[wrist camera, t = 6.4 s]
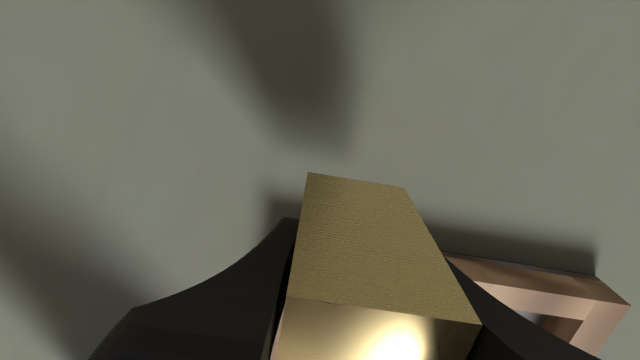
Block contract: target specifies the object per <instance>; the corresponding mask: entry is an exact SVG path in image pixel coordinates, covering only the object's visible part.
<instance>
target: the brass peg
mask: <svg viewBox="0 0 640 360" xmlns="http://www.w3.org/2000/svg"><path fill="white" fill-rule="evenodd" d="M481 327H482V323H481V321H480V320H479V318H478V316H477V314H476V313H475V311H474V309H473V307H472V306H471V304H470V302H469V300H468V299H467V297H466V295H465V293H464V292H463V290H462V288H461V286H460V285H459V283H458V281H457V279H456V278H455V276H454V274H453V272H452V271H451V269H450V267H449V265H448V264H447V262H446V260H445V258H444V257H443V255H442V253H441V251H440V250H439V248H438V246H437V244H436V243H435V241H434V239H433V237H432V236H431V234H430V232H429V231H428V229H427V227H426V225H425V224H424V222H423V220H422V218H421V217H420V215H419V213H418V211H417V210H416V208H415V206H414V204H413V203H412V201H411V199H410V197H409V196H408V194H407V192H406V190H405V189H404V188H402V187H396V186H390V185H383V184H377V183H371V182H365V181H359V180H353V179H347V178H341V177H335V176H329V175H323V174H317V173H311V172H308V174H307V180H306V186H305V191H304V197H303V203H302V209H301V214H300V220H299V226H298V231H297V237H296V243H295V249H294V254H293V260H292V266H291V272H290V277H289V283H288V289H287V294H286V300H285V307H284V313H283V319H282V325H281V332H280V338H279V344H278V350H277V357H276V360H466V358H467V356H468V354H469V352H470V350H471V348H472V346H473V344H474V342H475V340H476V338H477V336H478V333H479V331H480V329H481Z"/></svg>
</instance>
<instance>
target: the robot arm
mask: <svg viewBox="0 0 640 360" xmlns="http://www.w3.org/2000/svg"><path fill="white" fill-rule="evenodd" d="M298 226H299V220H298V219H292V218H286V217H284V218H283V219H281V220H280V222H279V223H278V224H277V226H276V227H275V228H274V229H273V230H272V231H271V232H270V233H269V234H268V235H267V236H266V237H265V238H264V239H263V240H262V241H261V242H260V243H259V244H258V245H257V246H256V247H255V248H253V249H252V250H251V251H250V252H249V253H248V254H246V255H245V256H244V257H243V258H241V259H240V260H239V261H237V262H236V263H234V264H233V265H231V266H230V267H228V268H227V269H225V270H224V271H222V272H220V273H219V274H217V275H215V276H213V277H211V278H209V279H208V280H206V281H204V282H202V283H200V284H197V285H195V286H193V287H191V288H189V289H186V290H184V291H181V292H179V293H177V294H174V295H171V296H169V297H166V298H163V299H160V300H157V301H154V302H151V303H148V304H145V305H142V306H139V307H136V308H132V309H131V310H130V311H129V312H128V313H127V314H126V316H125V317H124V318H123V319H122V320H121V321H120V322H119V323H118V324H117V325H116V326H115V327H114V328H113V329H112V330H111V331H110V332H109V334H108V335H107V336H106V337H105V339H104V340H103V341H102V342H101V344H100V345H99V346H98V347H97V349H96V350H95V351H94V352H93V354H92V355H91V356H90V358H89V359H88V360H270V358H271V353H272V349H273V345H274V341H275V337H276V334H277V330H278V327H279V323H280V320H281V316H282V313H283V309H284V306H285V300H286V294H287V289H288V283H289V277H290V272H291V266H292V260H293V254H294V249H295V243H296V237H297V231H298ZM443 257H444V256H443ZM444 258H445V260H446V262H447V264H448V265H449V267H450V269H451V271H452V272H453V274H454V276H455V278H456V279H457V281H458V283H459V285H460V286H461V288H462V290H463V292H464V293H465V295H466V297H467V299H468V300H469V302H470V304H471V306H472V307H473V309H474V311H475V313H476V314H477V316H478V318H479V320H480V321H481V323H482V327H481V329H480V331H479V333H478V336H477V338H476V340H475V342H474V344H473V346H472V348H471V350H470V352H469V354H468V356H467V358H466V360H601V359H599V358H597V357H595V356H593V355H591V354H589V353H587V352H585V351H583V350H581V349H579V348H577V347H575V346H573V345H571V344H569V343H568V342H566V341H564V340H562V339H560V338H558V337H557V336H555V335H553V334H551V333H550V332H548V331H546V330H545V329H543V328H541V327H539V326H538V325H536V324H534V323H533V322H531V321H529V320H528V319H526V318H525V317H523V316H521V315H520V314H518V313H517V312H515V311H514V310H512V309H511V308H509V307H508V306H506V305H505V304H503V303H502V302H500V301H499V300H498V299H496V298H495V297H494V296H492V295H491V294H489V293H488V292H487V291H486V290H484V289H483V288H482V287H480V286H479V285H478V284H477V283H475V282H474V281H473V280H471V279H470V278H469V277H468V276H467V275H465V274H464V273H463V272H462V271H461V270H459V269H458V268H457V267H456V266H455V265H454V264H452V263H451V262H450V261H449V260H448V259H447V258H446V257H444Z"/></svg>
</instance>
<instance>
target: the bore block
mask: <svg viewBox="0 0 640 360" xmlns="http://www.w3.org/2000/svg"><path fill="white" fill-rule="evenodd" d="M441 253H442V255H443V256H444V257H446V258H447V259H448V260H449V261H450V262H451V263H452V264H454V265H455V266H456V267H457V268H458V269H459V270H461V271H462V272H463V273H464V274H465V275H467V276H468V277H469V278H470V279H471V280H473V281H474V282H475V283H477V284H478V285H479V286H480V287H482V288H483V289H484V290H486V291H487V292H488V293H489V294H491V295H492V296H494V297H495V298H496V299H498V300H499V301H500V302H502V303H503V304H505V305H506V306H508V307H509V308H511V309H512V310H514V311H515V312H517V313H518V314H520V315H521V316H523V317H525V318H526V319H528V320H529V321H531V322H533V323H534V324H536V325H538V326H539V327H541V328H543V329H545V330H546V331H548V332H550V333H551V334H553V335H555V336H557V337H558V338H560V339H562V340H564V341H566V342H568V343H569V344H571V345H573V346H575V347H577V348H579V349H581V350H583V351H585V352H587V353H589V354H591V355H593V356H596V354H597V353H598V352H599V350H600V349H601V347H602V346H603V345H604V343H605V342H606V340H607V339H608V338H609V336H610V335H611V333H612V332H613V331H614V329H615V328H616V326H617V325H618V324H619V322H620V321H621V319H622V318H623V317H624V315H625V314H626V312H627V311H628V310H629V308H630V307H631V305H630V304H628V303H627V302H626V301H625V300H624V299H622V298H621V297H620V296H619V295H618V294H616V293H615V292H614V291H613V290H612V289H611V288H609V287H608V286H607V285H606V284H605V283H603V282H602V281H601V280H600V279H599V278H597V277H596V276H591V275H585V274H579V273H573V272H566V271H560V270H554V269H548V268H542V267H535V266H529V265H523V264H517V263H511V262H504V261H498V260H492V259H486V258H479V257H473V256H467V255H461V254H455V253H448V252H442V251H441ZM284 307H285V306H284ZM283 313H284V309H283ZM283 313H282V316H281V320H280V323H279V327H278V330H277V334H276V337H275V341H274V345H273V349H272V353H271V358H270V360H276V357H277V350H278V344H279V338H280V332H281V325H282V319H283Z"/></svg>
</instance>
